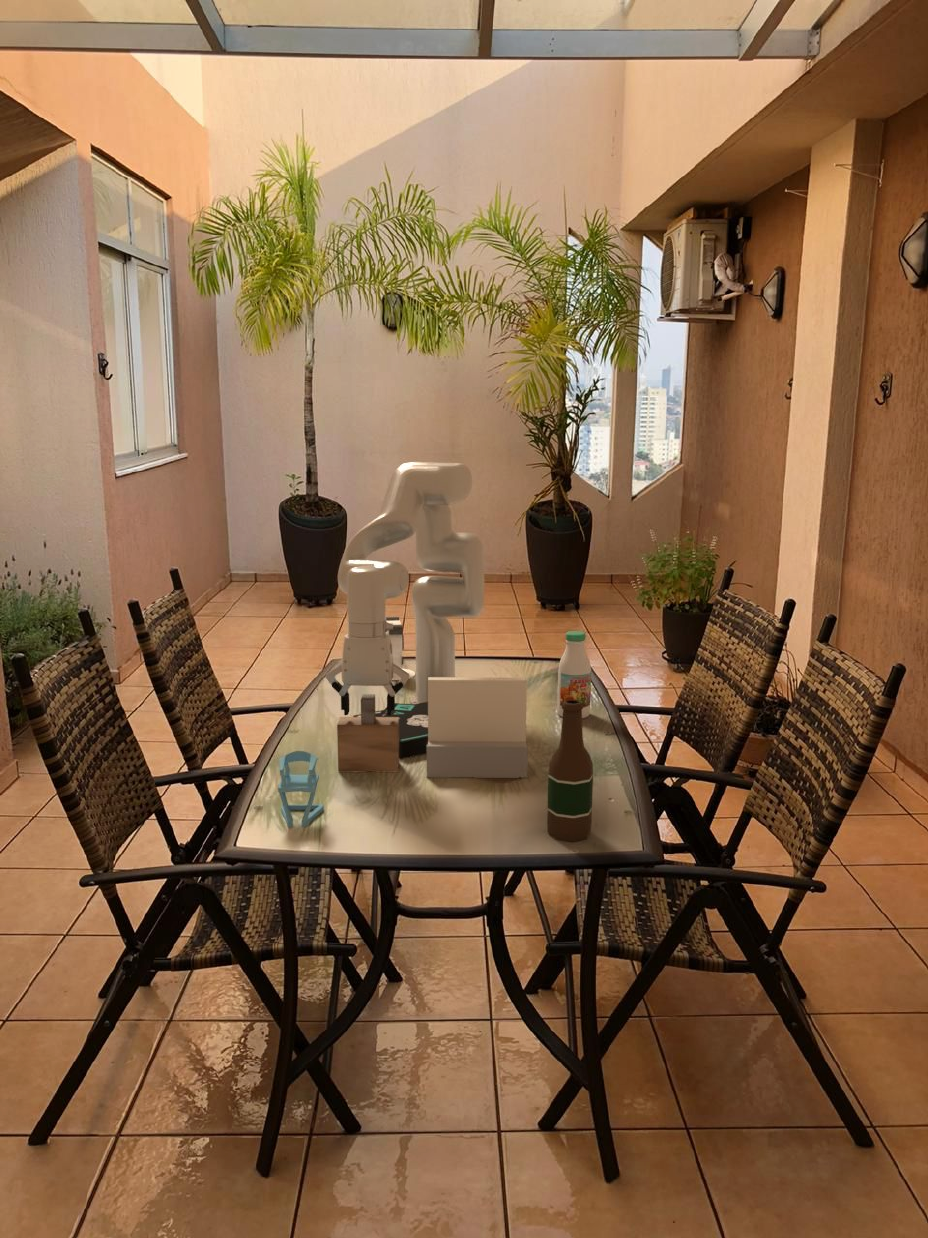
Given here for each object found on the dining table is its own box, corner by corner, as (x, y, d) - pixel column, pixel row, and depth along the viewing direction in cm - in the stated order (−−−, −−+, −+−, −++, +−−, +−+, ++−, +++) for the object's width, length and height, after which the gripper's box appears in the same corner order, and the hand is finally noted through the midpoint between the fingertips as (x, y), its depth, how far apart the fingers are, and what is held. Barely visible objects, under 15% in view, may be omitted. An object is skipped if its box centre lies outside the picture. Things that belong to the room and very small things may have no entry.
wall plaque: (332, 755, 225) (471, 765, 219) (331, 737, 224) (471, 747, 218) (372, 713, 254) (496, 721, 248) (372, 696, 253) (496, 704, 247)
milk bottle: (550, 714, 252) (552, 632, 248) (572, 708, 257) (574, 627, 253) (574, 722, 247) (576, 638, 242) (596, 715, 252) (599, 633, 247)
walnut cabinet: (341, 763, 220) (339, 693, 216) (399, 763, 219) (398, 693, 216) (338, 771, 215) (336, 700, 211) (397, 772, 215) (396, 700, 211)
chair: (274, 828, 188) (272, 763, 185) (281, 809, 196) (279, 747, 193) (318, 827, 188) (316, 763, 185) (323, 808, 196) (322, 747, 193)
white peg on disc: (417, 680, 280) (417, 625, 277) (374, 682, 279) (373, 626, 276) (413, 668, 292) (412, 615, 289) (371, 670, 290) (370, 616, 287)
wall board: (428, 760, 221) (428, 677, 217) (525, 761, 221) (526, 677, 217) (426, 777, 212) (426, 690, 208) (527, 778, 211) (528, 691, 208)
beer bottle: (543, 825, 189) (546, 695, 184) (587, 823, 190) (591, 694, 184) (550, 843, 181) (553, 708, 176) (595, 842, 182) (599, 708, 177)
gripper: (411, 625, 214) (412, 708, 218) (325, 624, 215) (327, 707, 218) (409, 633, 207) (410, 719, 211) (320, 633, 207) (322, 719, 211)
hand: (368, 713), depth 215 cm, fingers open, 8 cm apart
